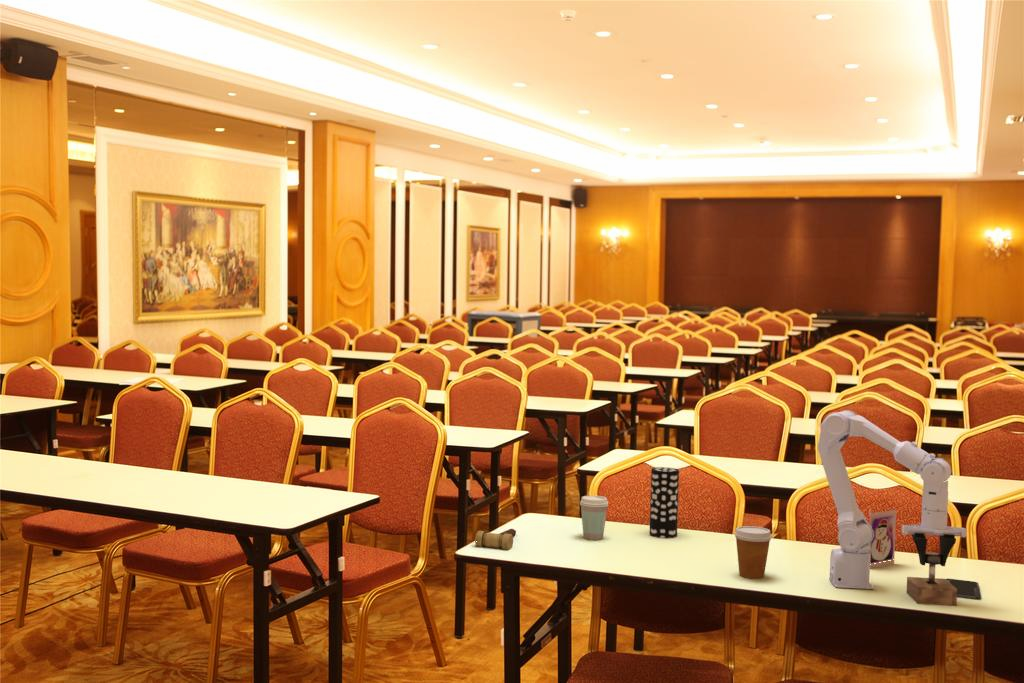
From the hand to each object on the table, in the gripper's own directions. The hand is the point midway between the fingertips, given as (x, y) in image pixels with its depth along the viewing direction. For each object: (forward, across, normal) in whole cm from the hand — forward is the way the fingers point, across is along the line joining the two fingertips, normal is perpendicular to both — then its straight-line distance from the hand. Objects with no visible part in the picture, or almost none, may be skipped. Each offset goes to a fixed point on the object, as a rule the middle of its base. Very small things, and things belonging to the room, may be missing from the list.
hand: (932, 564), depth 245 cm
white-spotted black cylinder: (+9, -62, +56) cm, 84 cm away
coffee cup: (+9, -83, +48) cm, 96 cm away
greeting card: (+9, -6, +32) cm, 34 cm away
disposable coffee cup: (+9, -41, +14) cm, 44 cm away
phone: (+9, +10, +10) cm, 17 cm away
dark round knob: (+5, 0, 0) cm, 5 cm away
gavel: (+9, -109, +38) cm, 116 cm away
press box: (+8, 0, 0) cm, 8 cm away
